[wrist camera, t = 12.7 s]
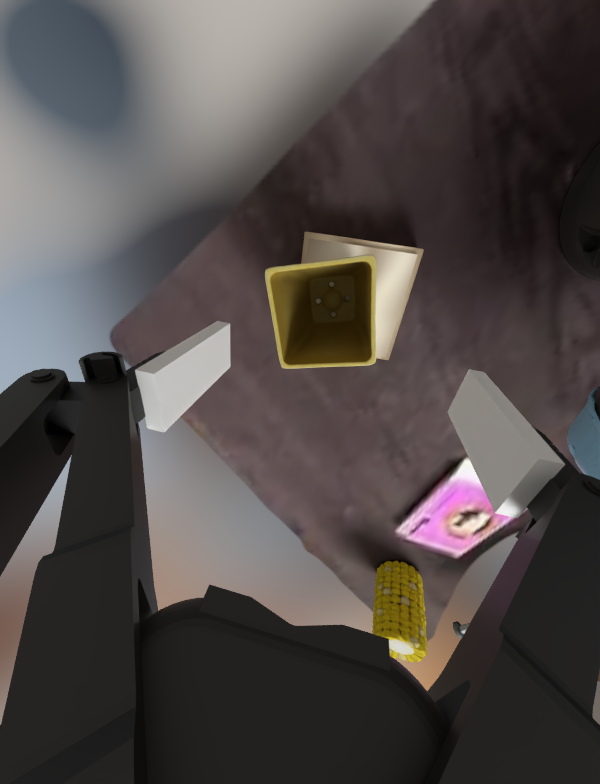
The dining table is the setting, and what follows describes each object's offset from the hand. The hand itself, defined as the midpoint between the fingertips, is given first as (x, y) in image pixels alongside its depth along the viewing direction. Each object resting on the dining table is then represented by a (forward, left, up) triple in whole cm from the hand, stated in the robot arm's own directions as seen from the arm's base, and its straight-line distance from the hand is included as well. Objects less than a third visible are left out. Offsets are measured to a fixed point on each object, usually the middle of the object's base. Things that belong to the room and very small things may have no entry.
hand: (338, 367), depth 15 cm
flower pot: (+2, 0, -18) cm, 18 cm away
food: (-22, +55, -22) cm, 63 cm away
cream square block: (0, 0, -22) cm, 22 cm away
